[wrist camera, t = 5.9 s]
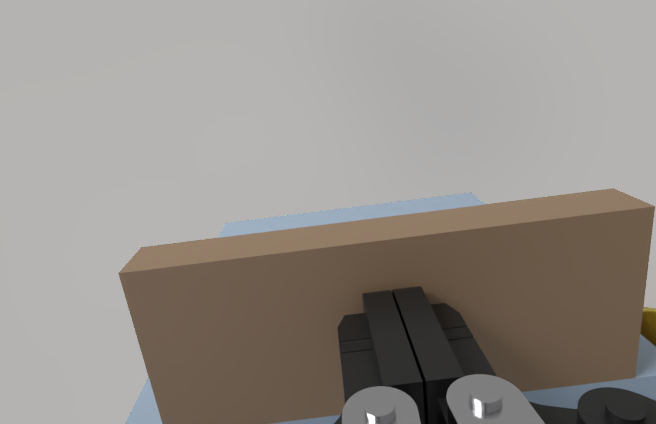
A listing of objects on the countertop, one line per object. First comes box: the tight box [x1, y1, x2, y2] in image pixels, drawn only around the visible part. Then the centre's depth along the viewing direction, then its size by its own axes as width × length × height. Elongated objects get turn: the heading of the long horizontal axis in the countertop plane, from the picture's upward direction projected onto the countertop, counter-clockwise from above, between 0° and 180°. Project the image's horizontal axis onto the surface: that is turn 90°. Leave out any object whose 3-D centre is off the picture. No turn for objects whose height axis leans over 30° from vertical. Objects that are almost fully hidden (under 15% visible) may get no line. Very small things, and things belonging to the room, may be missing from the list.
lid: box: [119, 189, 656, 424], centre depth 21 cm, size 16×18×6 cm
